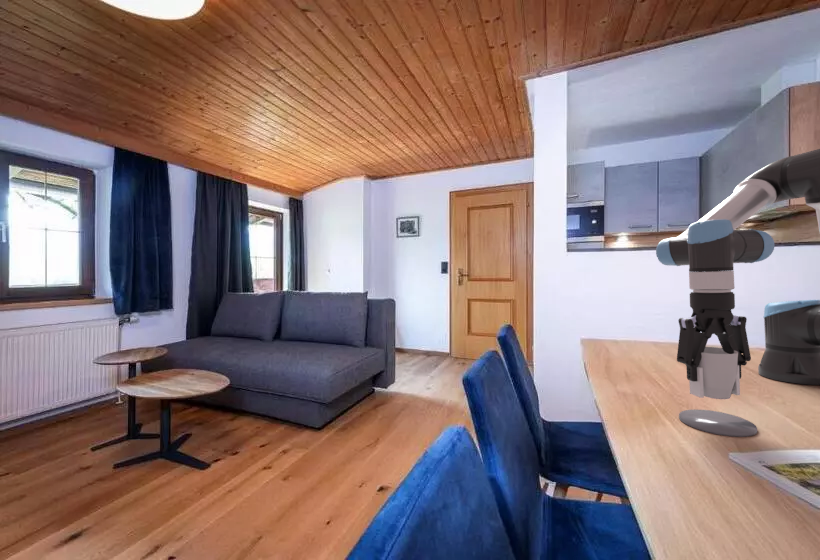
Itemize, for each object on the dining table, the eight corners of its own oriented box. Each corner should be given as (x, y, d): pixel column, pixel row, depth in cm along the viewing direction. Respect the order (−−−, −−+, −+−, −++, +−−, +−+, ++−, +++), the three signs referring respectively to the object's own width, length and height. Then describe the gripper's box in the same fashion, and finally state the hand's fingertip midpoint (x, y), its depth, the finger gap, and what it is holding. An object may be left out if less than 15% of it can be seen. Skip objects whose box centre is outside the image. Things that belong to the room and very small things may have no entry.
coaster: (716, 410, 85) (716, 407, 85) (775, 434, 72) (775, 431, 72) (664, 413, 84) (664, 411, 84) (715, 438, 71) (715, 436, 71)
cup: (749, 402, 73) (748, 354, 73) (704, 401, 75) (703, 354, 74) (723, 389, 81) (722, 346, 81) (683, 389, 83) (681, 346, 82)
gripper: (738, 288, 82) (741, 386, 82) (653, 292, 81) (657, 391, 81) (773, 289, 74) (776, 397, 75) (680, 293, 73) (684, 403, 73)
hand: (714, 394), depth 78 cm, fingers closed on cup, 8 cm apart
